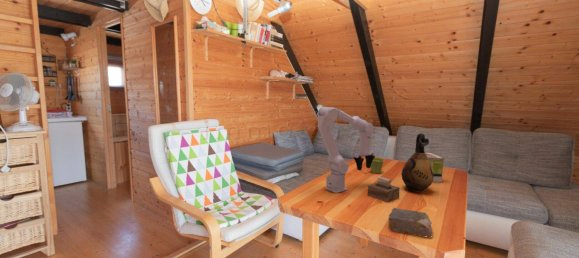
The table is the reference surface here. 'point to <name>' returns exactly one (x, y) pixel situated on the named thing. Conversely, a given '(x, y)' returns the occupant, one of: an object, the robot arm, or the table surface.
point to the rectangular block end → (384, 183)
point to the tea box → (436, 166)
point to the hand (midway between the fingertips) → (363, 168)
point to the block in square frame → (383, 192)
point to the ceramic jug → (418, 168)
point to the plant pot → (376, 165)
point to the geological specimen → (410, 222)
